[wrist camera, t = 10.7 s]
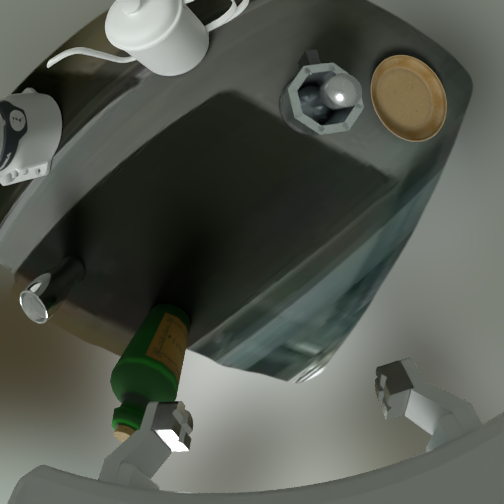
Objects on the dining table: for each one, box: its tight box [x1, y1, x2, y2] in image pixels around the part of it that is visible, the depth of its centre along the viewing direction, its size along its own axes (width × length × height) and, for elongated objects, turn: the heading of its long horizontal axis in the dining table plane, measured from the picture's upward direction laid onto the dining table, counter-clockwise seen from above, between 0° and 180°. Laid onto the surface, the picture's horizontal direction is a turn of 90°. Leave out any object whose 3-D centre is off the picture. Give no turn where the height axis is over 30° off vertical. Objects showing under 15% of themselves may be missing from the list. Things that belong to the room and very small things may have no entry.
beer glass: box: [20, 255, 85, 324], centre depth 45 cm, size 7×7×15 cm
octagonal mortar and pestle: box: [279, 49, 364, 135], centre depth 35 cm, size 9×11×12 cm
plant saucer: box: [371, 55, 447, 142], centre depth 38 cm, size 15×15×3 cm
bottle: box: [110, 304, 191, 442], centre depth 43 cm, size 11×11×28 cm
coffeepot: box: [47, 0, 249, 76], centre depth 28 cm, size 11×25×19 cm, turn 107°
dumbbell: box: [298, 73, 362, 122], centre depth 30 cm, size 5×5×17 cm
